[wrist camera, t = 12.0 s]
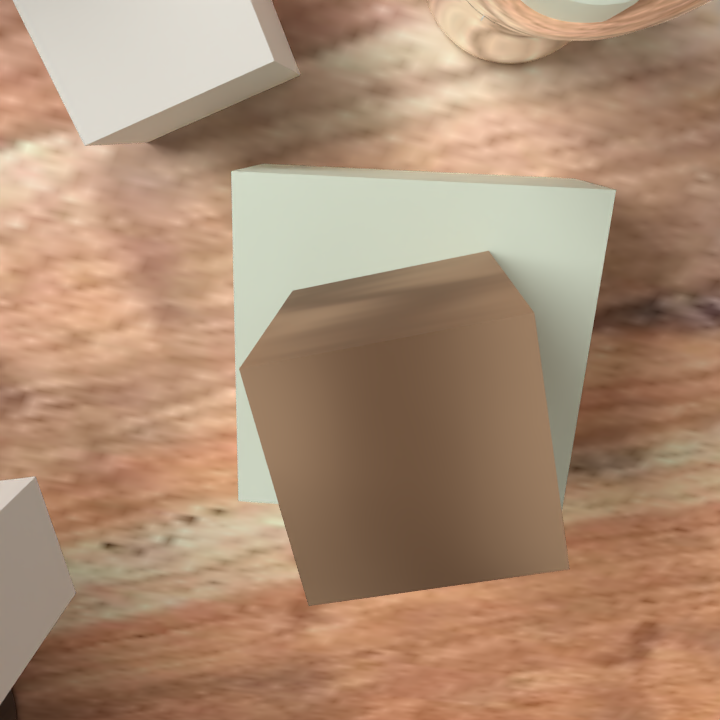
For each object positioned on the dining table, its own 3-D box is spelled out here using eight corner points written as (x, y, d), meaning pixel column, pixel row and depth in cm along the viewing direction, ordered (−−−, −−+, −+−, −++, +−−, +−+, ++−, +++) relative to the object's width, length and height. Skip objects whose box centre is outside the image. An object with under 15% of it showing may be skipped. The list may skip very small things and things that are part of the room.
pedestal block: (266, 437, 27) (238, 500, 23) (265, 163, 24) (231, 171, 19) (532, 455, 27) (559, 524, 22) (572, 177, 23) (616, 190, 18)
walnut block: (336, 462, 22) (309, 605, 15) (292, 290, 20) (239, 368, 13) (516, 432, 21) (569, 569, 14) (488, 250, 19) (534, 312, 13)
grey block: (148, 142, 23) (84, 145, 19) (65, -35, 22) (-28, -81, 17) (301, 75, 22) (274, 60, 18) (227, -117, 21) (175, -190, 16)
